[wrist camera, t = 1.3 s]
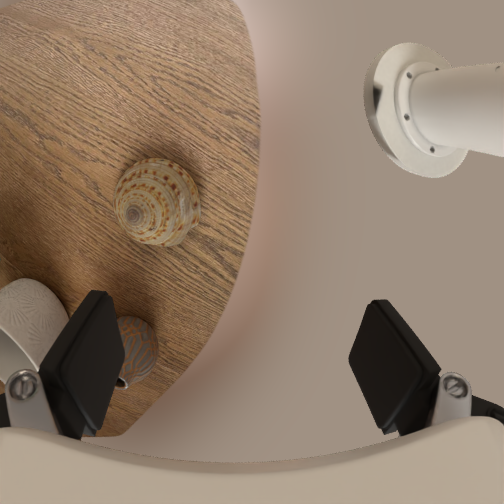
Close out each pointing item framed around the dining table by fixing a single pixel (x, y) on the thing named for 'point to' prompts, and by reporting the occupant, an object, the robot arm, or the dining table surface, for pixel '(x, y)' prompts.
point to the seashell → (156, 202)
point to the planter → (27, 325)
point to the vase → (136, 350)
